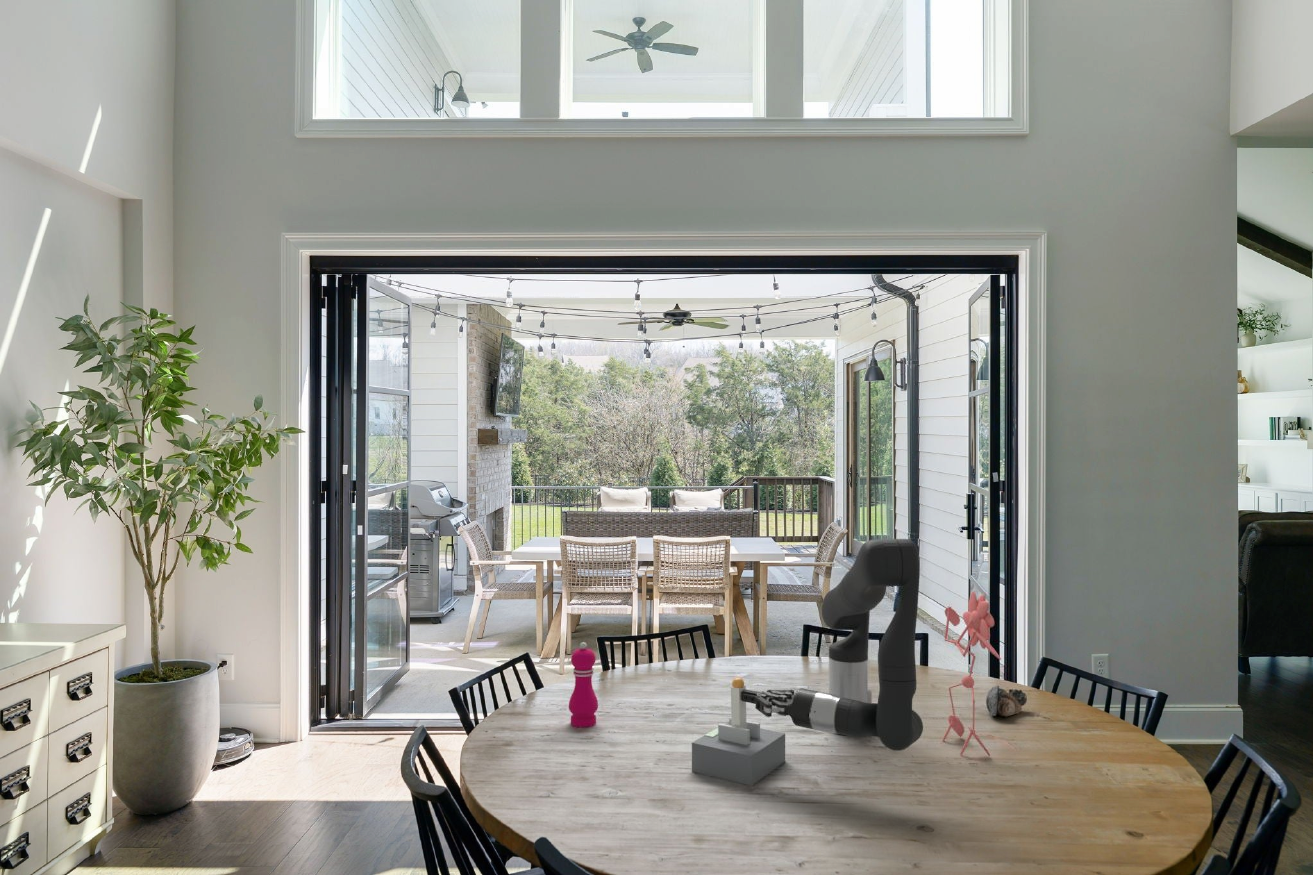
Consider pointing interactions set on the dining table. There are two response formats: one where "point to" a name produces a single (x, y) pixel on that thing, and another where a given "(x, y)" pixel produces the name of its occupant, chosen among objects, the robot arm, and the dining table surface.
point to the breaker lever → (738, 704)
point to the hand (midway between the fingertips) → (742, 694)
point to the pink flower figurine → (978, 631)
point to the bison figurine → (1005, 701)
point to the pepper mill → (583, 688)
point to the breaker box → (738, 752)
